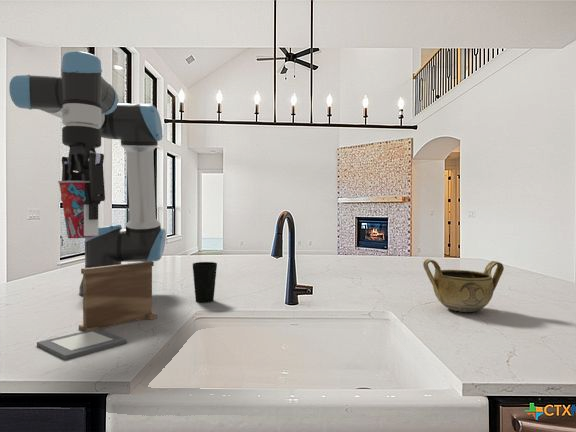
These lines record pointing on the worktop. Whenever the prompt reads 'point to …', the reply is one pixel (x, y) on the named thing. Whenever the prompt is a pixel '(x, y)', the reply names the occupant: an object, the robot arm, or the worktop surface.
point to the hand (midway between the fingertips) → (82, 234)
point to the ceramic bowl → (464, 286)
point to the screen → (116, 294)
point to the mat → (81, 343)
